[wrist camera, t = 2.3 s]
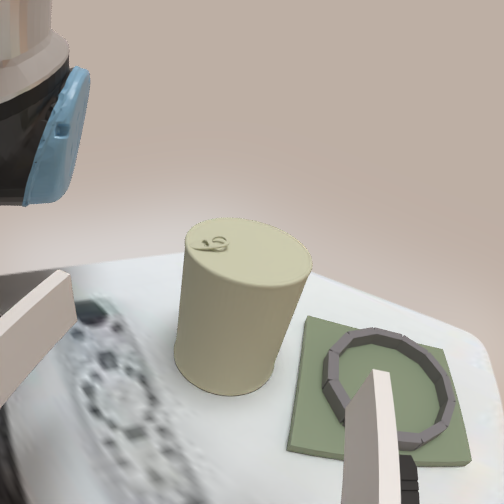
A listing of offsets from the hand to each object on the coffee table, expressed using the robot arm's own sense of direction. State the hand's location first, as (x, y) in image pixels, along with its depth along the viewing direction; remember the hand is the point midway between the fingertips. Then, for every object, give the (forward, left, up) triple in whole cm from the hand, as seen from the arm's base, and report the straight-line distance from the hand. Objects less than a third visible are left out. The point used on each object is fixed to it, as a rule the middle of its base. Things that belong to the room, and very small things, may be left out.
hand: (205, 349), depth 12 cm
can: (0, +11, -13) cm, 17 cm away
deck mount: (+16, +11, -12) cm, 23 cm away
